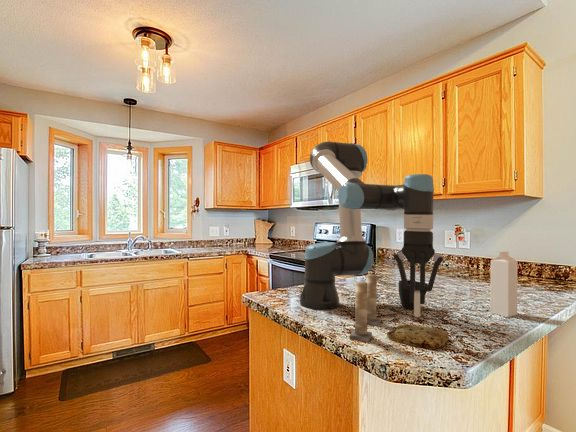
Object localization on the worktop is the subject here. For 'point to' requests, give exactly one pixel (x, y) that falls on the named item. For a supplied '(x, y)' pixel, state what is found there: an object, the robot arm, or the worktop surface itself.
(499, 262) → the milk
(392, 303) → the worktop surface
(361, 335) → the post
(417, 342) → the pastry
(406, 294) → the mug
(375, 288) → the post
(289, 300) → the worktop surface
